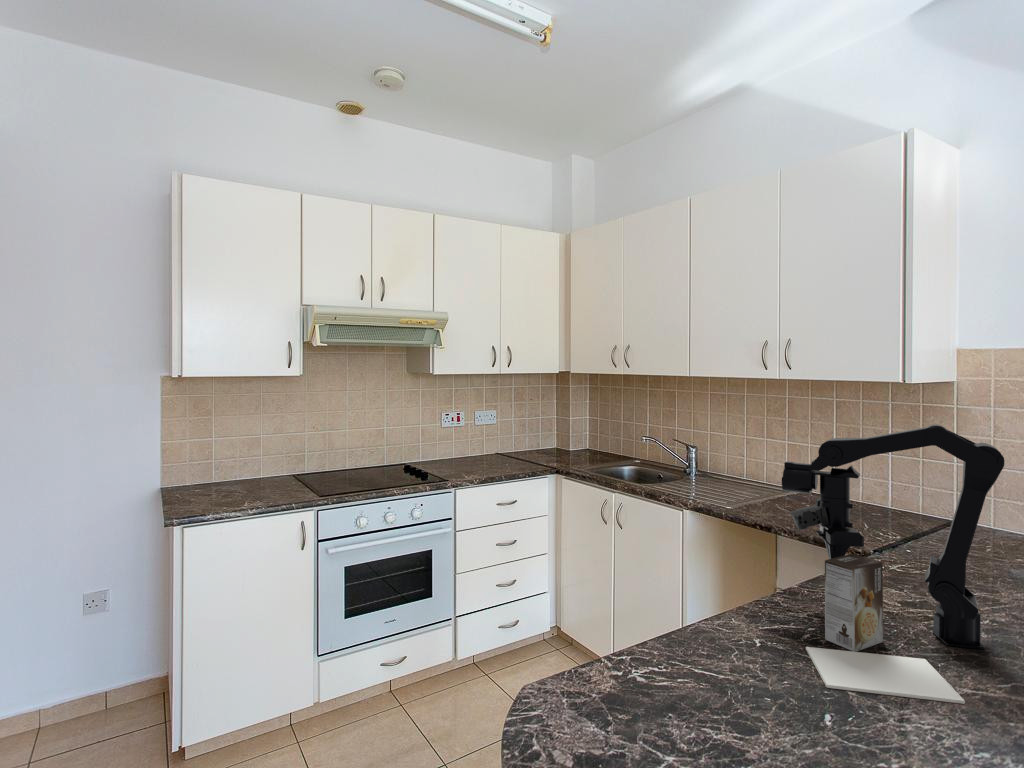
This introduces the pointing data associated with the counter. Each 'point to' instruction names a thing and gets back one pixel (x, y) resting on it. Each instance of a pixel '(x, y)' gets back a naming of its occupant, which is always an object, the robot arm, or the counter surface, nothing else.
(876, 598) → the coffee box
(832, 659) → the mat
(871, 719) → the counter surface
